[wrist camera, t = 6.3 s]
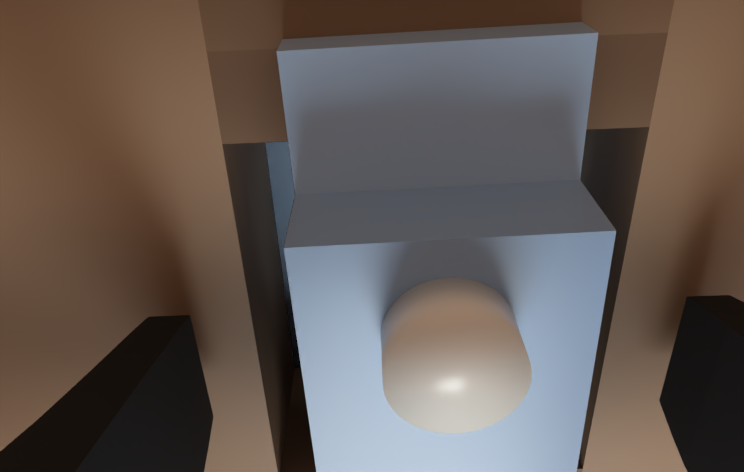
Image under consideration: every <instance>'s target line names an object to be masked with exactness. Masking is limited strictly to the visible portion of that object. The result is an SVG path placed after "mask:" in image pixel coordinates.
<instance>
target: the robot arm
mask: <svg viewBox="0 0 744 472" xmlns="http://www.w3.org/2000/svg"><path fill="white" fill-rule="evenodd" d="M659 402H660V404H661V407H662V410H663V412H664V415H665V418H666V421H667V423H668V426H669V429H670V431H671V434H672V437H673V439H674V442H675V444H676V447H677V449H678V451H679V454H680V456H681V459H682V461H683V464H684V466H685V468H686V470H687V472H744V302H742V301H740V300H738V299H736V298H735V297H733V296H731V295H713V296H687V297H686V301H685V305H684V309H683V313H682V316H681V320H680V324H679V328H678V331H677V335H676V339H675V343H674V347H673V350H672V354H671V358H670V362H669V365H668V369H667V373H666V377H665V381H664V384H663V388H662V392H661V396H660V399H659ZM212 423H213V412H212V408H211V404H210V399H209V395H208V391H207V386H206V382H205V378H204V373H203V369H202V365H201V360H200V356H199V352H198V347H197V343H196V339H195V334H194V330H193V326H192V321H191V317H190V315H177V316H151V317H148V318H146V319H145V320H144V321H143V322H142V323H141V324H140V325H138V326H137V327H136V328H135V329H134V330H133V331H132V332H131V333H130V334H129V335H128V336H127V337H126V338H124V339H123V340H122V341H121V342H120V343H119V344H118V345H117V346H116V347H115V348H114V349H113V350H112V351H111V352H110V353H109V354H108V355H107V356H105V357H104V358H103V359H102V360H101V361H100V362H99V363H98V364H97V365H96V366H95V367H94V368H93V369H92V370H91V371H90V372H89V373H88V374H86V375H85V376H84V377H83V378H82V379H81V380H80V381H79V382H78V383H77V384H76V385H75V386H73V387H72V388H71V389H70V390H69V391H68V392H67V393H66V394H65V395H64V396H63V397H62V398H60V399H59V400H58V401H57V402H56V403H55V404H54V405H53V406H52V407H51V408H50V409H49V410H47V411H46V412H45V413H44V414H43V415H42V416H41V417H40V418H39V419H38V420H36V421H35V422H34V423H33V424H32V425H31V426H29V427H28V428H27V429H26V430H25V431H24V432H22V433H21V434H20V435H19V436H18V437H16V438H15V439H14V440H13V441H12V442H11V443H9V444H8V445H7V446H6V447H5V448H4V449H2V450H1V451H0V472H204V469H205V464H206V458H207V453H208V447H209V441H210V435H211V429H212Z"/></svg>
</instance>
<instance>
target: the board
mask: <svg viewBox="0 0 744 472" xmlns="http://www.w3.org/2000/svg"><path fill="white" fill-rule="evenodd" d="M571 22H583V23H585V24H586V25H588V26H589V27H591V28H592V29H594V30H595V31H597V32H598V41H597V48H596V56H595V64H594V72H593V80H592V88H591V96H590V104H589V112H588V120H587V128H586V136H585V144H584V152H583V160H582V168H581V176H580V180H581V182H582V183H583V185H584V186H585V187H586V189H587V190H588V192H589V193H590V194H591V196H592V197H593V199H594V200H595V201H596V203H597V204H598V206H599V207H600V208H601V210H602V211H603V213H604V214H605V215H606V217H607V218H608V220H609V221H610V222H611V224H612V225H613V227H614V228H615V229H616V236H615V242H614V248H613V254H612V260H611V267H610V273H609V279H608V285H607V291H606V297H605V303H604V309H603V315H602V321H601V327H600V333H599V339H598V345H597V351H596V357H595V363H594V369H593V375H592V382H591V388H590V394H589V400H588V406H587V412H586V418H585V424H584V430H583V436H582V442H581V448H580V454H579V460H578V466H577V472H687V470H686V468H685V466H684V464H683V461H682V459H681V456H680V454H679V451H678V449H677V447H676V444H675V442H674V439H673V437H672V434H671V431H670V429H669V426H668V423H667V421H666V418H665V415H664V412H663V410H662V407H661V404H660V402H659V399H660V396H661V392H662V388H663V384H664V381H665V377H666V373H667V369H668V365H669V362H670V358H671V354H672V350H673V347H674V343H675V339H676V335H677V331H678V328H679V324H680V320H681V316H682V313H683V309H684V305H685V301H686V297H687V296H713V295H731V296H733V297H735V298H736V299H738V300H740V301H742V302H744V0H0V451H1V450H2V449H4V448H5V447H6V446H7V445H8V444H9V443H11V442H12V441H13V440H14V439H15V438H16V437H18V436H19V435H20V434H21V433H22V432H24V431H25V430H26V429H27V428H28V427H29V426H31V425H32V424H33V423H34V422H35V421H36V420H38V419H39V418H40V417H41V416H42V415H43V414H44V413H45V412H46V411H47V410H49V409H50V408H51V407H52V406H53V405H54V404H55V403H56V402H57V401H58V400H59V399H60V398H62V397H63V396H64V395H65V394H66V393H67V392H68V391H69V390H70V389H71V388H72V387H73V386H75V385H76V384H77V383H78V382H79V381H80V380H81V379H82V378H83V377H84V376H85V375H86V374H88V373H89V372H90V371H91V370H92V369H93V368H94V367H95V366H96V365H97V364H98V363H99V362H100V361H101V360H102V359H103V358H104V357H105V356H107V355H108V354H109V353H110V352H111V351H112V350H113V349H114V348H115V347H116V346H117V345H118V344H119V343H120V342H121V341H122V340H123V339H124V338H126V337H127V336H128V335H129V334H130V333H131V332H132V331H133V330H134V329H135V328H136V327H137V326H138V325H140V324H141V323H142V322H143V321H144V320H145V319H146V318H148V317H151V316H177V315H190V317H191V321H192V326H193V330H194V334H195V339H196V343H197V347H198V352H199V356H200V360H201V365H202V369H203V373H204V378H205V382H206V386H207V391H208V395H209V399H210V404H211V408H212V412H213V423H212V429H211V435H210V441H209V447H208V453H207V458H206V464H205V469H204V472H316V466H315V459H314V453H313V446H312V439H311V432H310V425H309V418H308V412H307V405H306V398H305V391H304V384H303V377H302V371H301V368H295V367H294V359H293V352H292V344H291V337H290V329H289V321H288V314H287V306H286V299H285V291H284V284H283V276H282V269H281V261H280V254H279V246H278V238H277V231H276V223H275V216H274V208H273V201H272V193H271V186H270V178H269V171H268V163H267V155H266V148H265V142H287V141H288V136H287V129H286V121H285V113H284V105H283V98H282V90H281V82H280V74H279V67H278V59H277V49H278V47H279V45H280V43H281V41H282V39H294V38H312V37H329V36H346V35H364V34H381V33H398V32H415V31H433V30H450V29H467V28H485V27H502V26H519V25H537V24H554V23H571Z"/></svg>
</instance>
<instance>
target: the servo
mask: <svg viewBox="0 0 744 472" xmlns="http://www.w3.org/2000/svg"><path fill="white" fill-rule="evenodd" d="M597 41H598V32H597V31H595V30H594V29H592V28H591V27H589V26H588V25H586V24H585V23H583V22H571V23H554V24H537V25H519V26H502V27H485V28H467V29H450V30H433V31H415V32H398V33H381V34H364V35H346V36H329V37H312V38H294V39H282V41H281V43H280V45H279V47H278V49H277V59H278V67H279V74H280V82H281V90H282V98H283V105H284V113H285V121H286V129H287V136H288V144H289V152H290V160H291V167H292V175H293V183H294V191H295V198H294V202H293V207H292V211H291V216H290V221H289V225H288V230H287V235H286V239H285V244H284V254H285V261H286V268H287V275H288V282H289V288H290V295H291V302H292V309H293V316H294V323H295V329H296V336H297V343H298V350H299V357H300V364H301V371H302V377H303V384H304V391H305V398H306V405H307V412H308V418H309V425H310V432H311V439H312V446H313V453H314V459H315V466H316V472H577V466H578V460H579V454H580V448H581V442H582V436H583V430H584V424H585V418H586V412H587V406H588V400H589V394H590V388H591V382H592V375H593V369H594V363H595V357H596V351H597V345H598V339H599V333H600V327H601V321H602V315H603V309H604V303H605V297H606V291H607V285H608V279H609V273H610V267H611V260H612V254H613V248H614V242H615V236H616V229H615V228H614V227H613V225H612V224H611V222H610V221H609V220H608V218H607V217H606V215H605V214H604V213H603V211H602V210H601V208H600V207H599V206H598V204H597V203H596V201H595V200H594V199H593V197H592V196H591V194H590V193H589V192H588V190H587V189H586V187H585V186H584V185H583V183H582V182H581V180H580V176H581V168H582V160H583V152H584V144H585V136H586V128H587V120H588V112H589V104H590V96H591V88H592V80H593V72H594V64H595V56H596V48H597Z"/></svg>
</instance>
